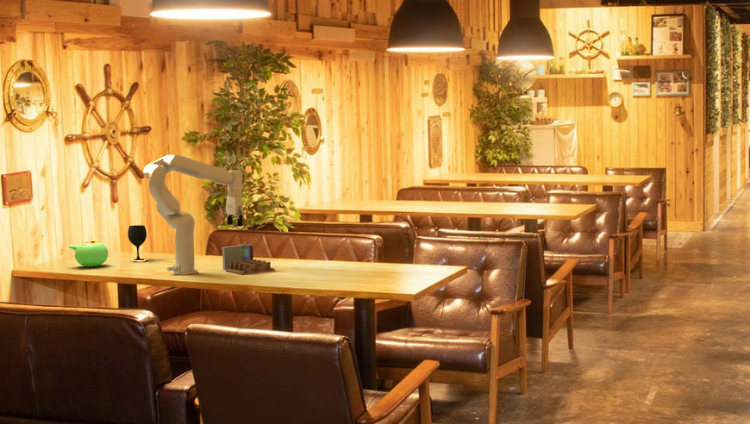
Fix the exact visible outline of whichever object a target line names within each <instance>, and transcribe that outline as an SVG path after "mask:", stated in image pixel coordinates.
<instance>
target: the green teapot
mask: <svg viewBox="0 0 750 424" xmlns="http://www.w3.org/2000/svg"><path fill="white" fill-rule="evenodd" d="M68 247H69V248H70V249H71V250H73V251H75V252H74V258H75V260H76V262H77V264H79V265H81V266H82V267H87V268H93V267H94V266H95V267H98V266H101V265H103V264H104V263H105V262H107V259H108V258H109V249H108V248H107V246H106V245H105V244H104V243H102V242H99V241H95V240H94V239H91V240H90V241H87V242H86V241H85V242H84V243H82V244H80V245H71V244H70V245H69V246H68ZM95 267H94V268H95Z"/></svg>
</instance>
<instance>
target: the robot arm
mask: <svg viewBox="0 0 750 424" xmlns="http://www.w3.org/2000/svg"><path fill="white" fill-rule="evenodd" d="M171 171H172V172H176V173H180V174H182V175H187V176H190V177H193V178H196V179H203V180H208V181H212V182H213V183H215V184H217V185H225V186H226V185H227V196H226V201H225V202H226V203H225V204H226V205H225V209H224V210H225V215H226V218H227V219H226V221H227V222H226V225H227V226H232V225H234V216H236V226H237V227H243V226H244V224H243V223H244V220H243V219H244V216H245V210H244V208H243V196H242V195H243V186H242V185H243V181H242V179H243V178H242V177H243V174H242V173H243V172H242V171H241V169H240V170H239V169H233V170H231V169H230V170H227V169H225V168H221V167H218V166H214V165H212V164H207V163H205V162H203V161H202V162H201V161H199V160H196V159H192V158H191V157H190V158H189V157H187V156H183V155H180V154H167V155H165V156H163V157H160V158H159V159H157V160H154V161H153V162H150V163H149V164H147V165H145V167H144V169H143V176H144V178H145V179H147V180H148V190H149V193H150V195H151V196H152V198H153V199H154V201H155V208H156V210H157V212H158V213H159V214H160V216H161V217H162V218H163V220H164V221H165V222H166V223H167V225H169V226H170V227H171V228H172V229H175V235H174V246H175V247H174V248H175V249H174V250H175V264H173V266H169V267H166V269H167V272H172V273H173V274H174V275H180V276H181V275H185V276H186V275H193V274H194V275H195V274H197V273H198V272H199V270H198V269H195V242H194V239H195V238H194V237H195V236H194V234H195V223H196V222H195V219H194V216H193V215H191V214H190V213H188V212H185V211H181V204H180V202H179V200H178V199H177V198H176V196H174V194H173V193H172V192H171V191H170V189H169V188H168V186H167V185H166V177H167V174H169V173H170V172H171Z"/></svg>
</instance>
